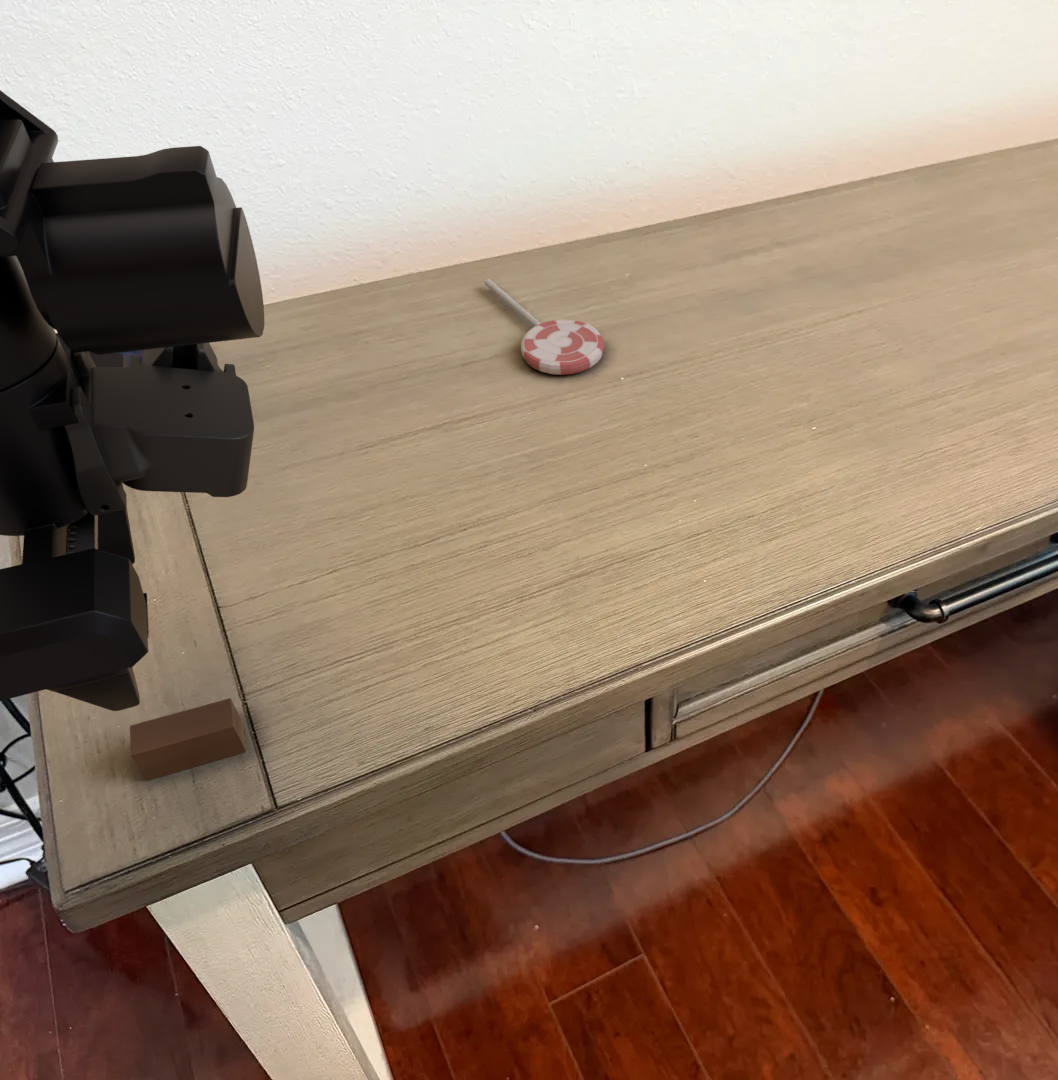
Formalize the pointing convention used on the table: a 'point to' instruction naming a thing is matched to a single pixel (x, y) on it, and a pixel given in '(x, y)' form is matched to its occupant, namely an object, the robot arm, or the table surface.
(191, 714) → the tall brown square pillar
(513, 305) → the lollipop
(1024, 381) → the table surface
